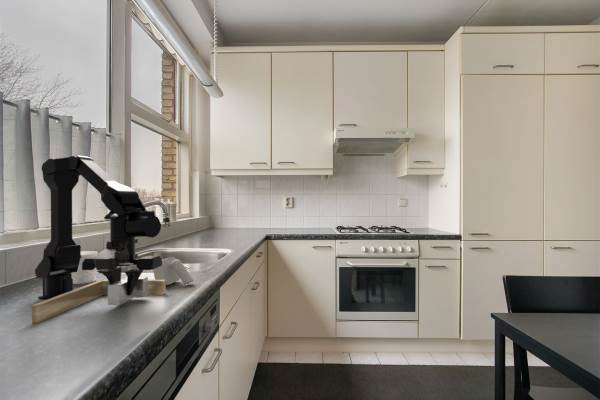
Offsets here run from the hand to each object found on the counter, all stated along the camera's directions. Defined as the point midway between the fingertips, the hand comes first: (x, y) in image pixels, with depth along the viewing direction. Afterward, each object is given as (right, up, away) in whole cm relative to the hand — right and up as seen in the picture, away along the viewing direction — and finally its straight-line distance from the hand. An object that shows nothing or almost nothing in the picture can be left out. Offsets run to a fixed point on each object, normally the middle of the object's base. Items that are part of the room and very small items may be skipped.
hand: (123, 295), depth 83 cm
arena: (-3, -3, 0) cm, 4 cm away
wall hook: (+6, -3, +19) cm, 20 cm away
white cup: (-27, -3, +25) cm, 37 cm away
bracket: (+1, -1, 0) cm, 2 cm away
